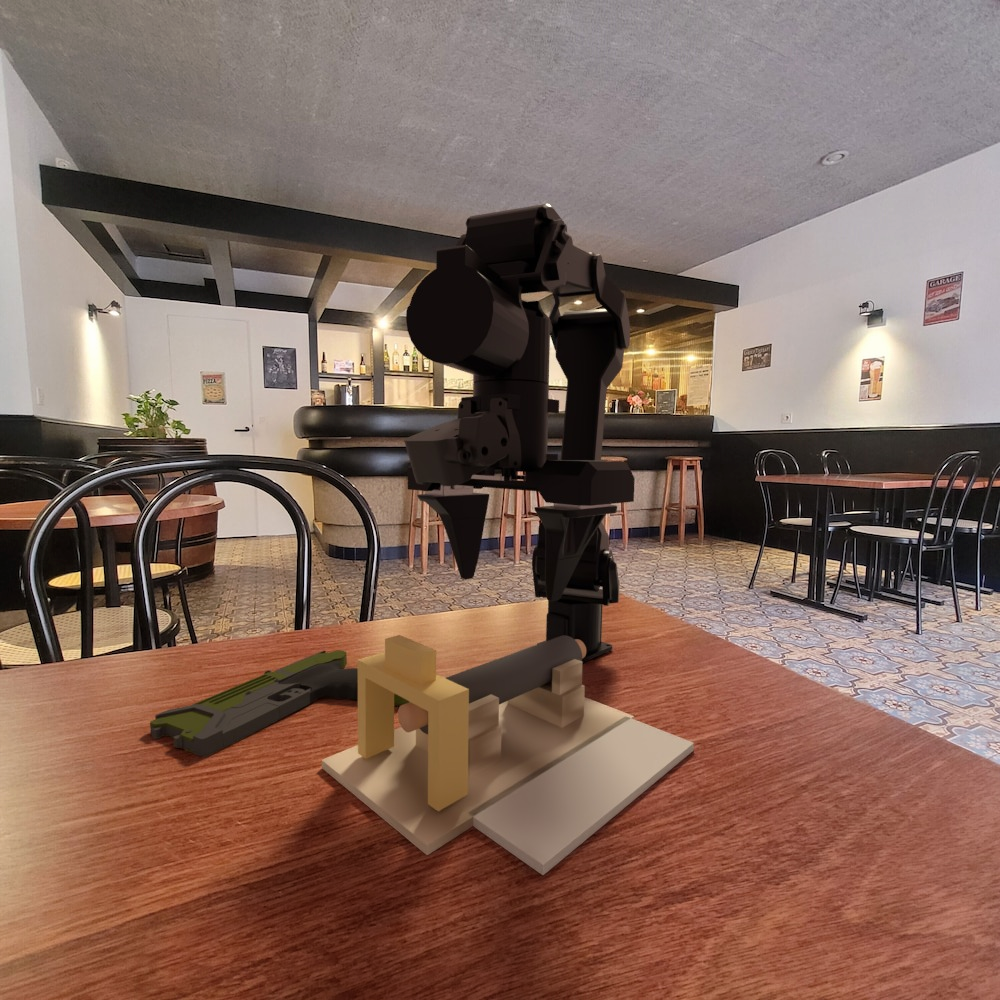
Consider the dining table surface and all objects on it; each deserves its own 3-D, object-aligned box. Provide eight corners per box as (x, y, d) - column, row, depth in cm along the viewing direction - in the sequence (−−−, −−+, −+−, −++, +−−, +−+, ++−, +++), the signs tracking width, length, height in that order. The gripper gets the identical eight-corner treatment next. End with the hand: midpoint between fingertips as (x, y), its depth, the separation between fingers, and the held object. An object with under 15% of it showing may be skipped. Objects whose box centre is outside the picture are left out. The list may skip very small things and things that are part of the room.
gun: (268, 800, 37) (141, 745, 44) (435, 690, 53) (323, 663, 60) (266, 763, 36) (138, 714, 44) (435, 665, 53) (322, 641, 60)
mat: (625, 722, 47) (625, 716, 47) (693, 750, 42) (693, 742, 42) (467, 822, 34) (467, 812, 34) (542, 875, 30) (543, 864, 30)
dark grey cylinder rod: (563, 661, 52) (564, 627, 51) (592, 671, 49) (593, 636, 49) (391, 732, 38) (391, 687, 38) (420, 750, 36) (420, 703, 35)
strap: (386, 741, 41) (386, 624, 41) (467, 794, 35) (469, 657, 34) (357, 753, 40) (357, 632, 39) (438, 811, 33) (439, 668, 33)
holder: (527, 680, 55) (528, 629, 54) (633, 723, 47) (636, 663, 46) (321, 767, 39) (321, 697, 39) (427, 855, 31) (427, 766, 30)
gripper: (350, 383, 42) (351, 583, 44) (534, 357, 29) (528, 642, 31) (459, 396, 50) (457, 565, 52) (642, 379, 37) (634, 606, 39)
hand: (507, 588), depth 43 cm, fingers open, 9 cm apart
